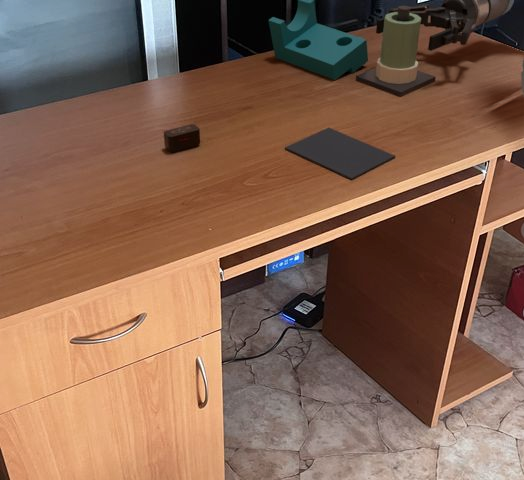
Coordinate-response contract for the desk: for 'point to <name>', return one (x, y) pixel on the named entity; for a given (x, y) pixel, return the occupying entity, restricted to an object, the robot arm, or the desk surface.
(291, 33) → the teal l-shaped bracket
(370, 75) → the stack stand
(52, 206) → the desk surface
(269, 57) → the desk surface
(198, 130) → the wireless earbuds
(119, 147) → the desk surface
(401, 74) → the cream ring
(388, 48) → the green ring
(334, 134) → the mat
